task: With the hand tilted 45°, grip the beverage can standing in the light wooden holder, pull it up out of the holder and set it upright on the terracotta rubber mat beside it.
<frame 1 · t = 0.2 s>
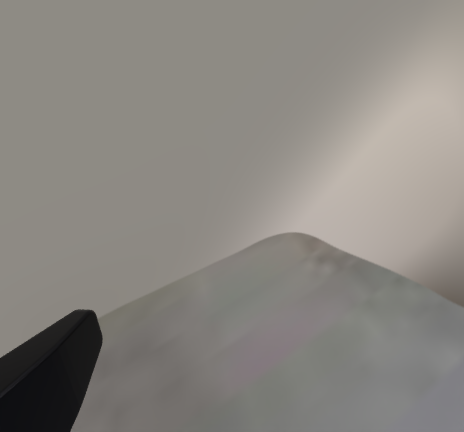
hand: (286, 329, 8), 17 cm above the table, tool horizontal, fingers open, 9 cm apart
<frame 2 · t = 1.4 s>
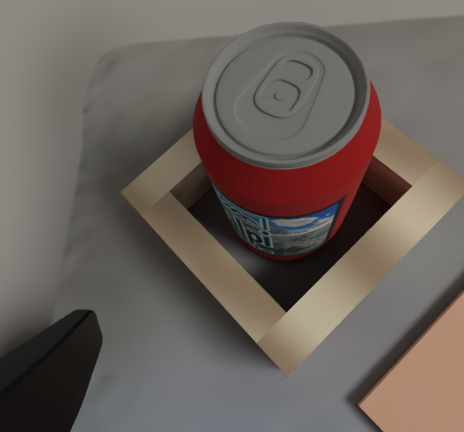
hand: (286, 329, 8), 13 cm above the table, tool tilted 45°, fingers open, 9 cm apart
holder: (285, 210, 23), on the table
beverage can: (285, 211, 24), resting in holder
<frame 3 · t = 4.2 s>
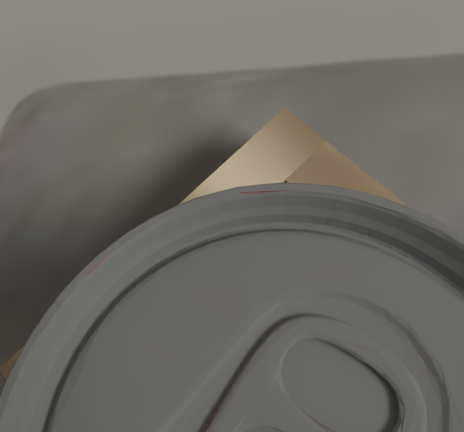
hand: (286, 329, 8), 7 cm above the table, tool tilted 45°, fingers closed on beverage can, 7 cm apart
holder: (287, 374, 14), on the table
beverage can: (287, 373, 14), resting in holder, touching gripper
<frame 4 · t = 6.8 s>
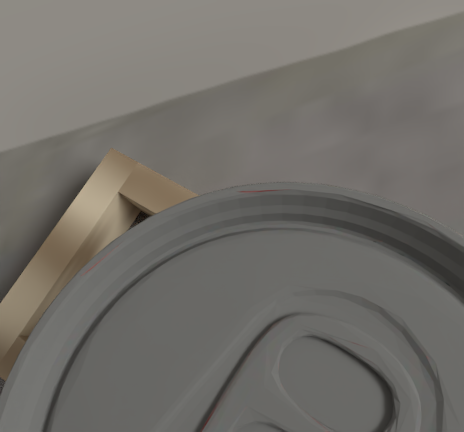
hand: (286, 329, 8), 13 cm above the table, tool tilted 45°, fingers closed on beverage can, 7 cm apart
holder: (157, 309, 22), on the table
beverage can: (286, 371, 14), point 7 cm above the table, touching gripper
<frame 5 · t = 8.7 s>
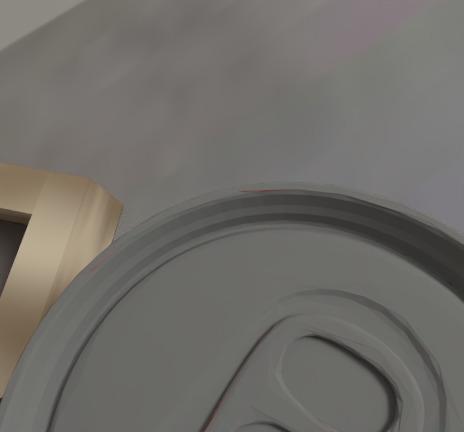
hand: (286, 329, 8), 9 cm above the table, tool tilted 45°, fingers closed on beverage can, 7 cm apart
beverage can: (287, 371, 14), point 2 cm above the table, touching gripper
when the fingers open (8 cm above the table, at t = 9.6 s): beverage can drops 1 cm, resting on mat.
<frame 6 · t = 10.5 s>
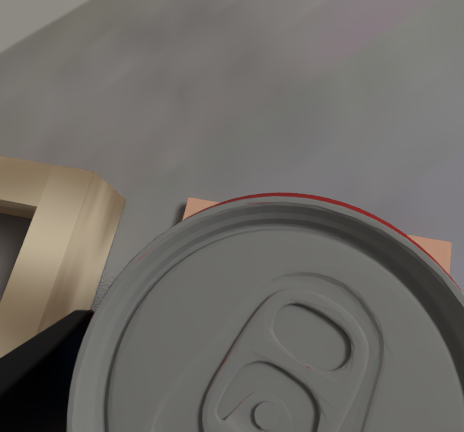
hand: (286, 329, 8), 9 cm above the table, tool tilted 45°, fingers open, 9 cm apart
mat: (287, 352, 16), on the table
beverage can: (285, 356, 16), resting on mat
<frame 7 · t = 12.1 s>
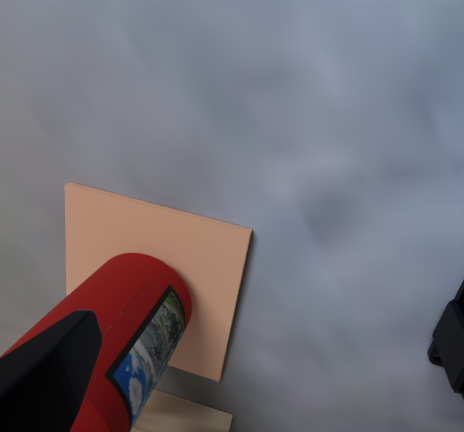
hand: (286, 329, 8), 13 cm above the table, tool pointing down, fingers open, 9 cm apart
mat: (150, 284, 26), on the table
beverage can: (150, 289, 25), resting on mat
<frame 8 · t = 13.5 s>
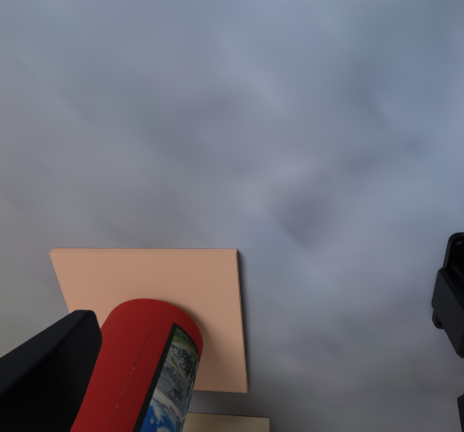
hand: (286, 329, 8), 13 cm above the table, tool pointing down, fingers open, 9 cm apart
mat: (157, 321, 27), on the table
beverage can: (158, 327, 26), resting on mat
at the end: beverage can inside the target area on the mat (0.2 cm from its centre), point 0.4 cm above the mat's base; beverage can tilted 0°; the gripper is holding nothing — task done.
